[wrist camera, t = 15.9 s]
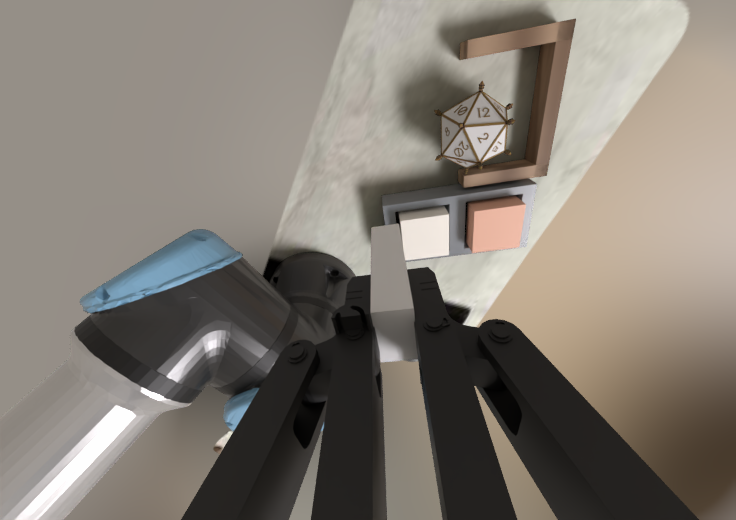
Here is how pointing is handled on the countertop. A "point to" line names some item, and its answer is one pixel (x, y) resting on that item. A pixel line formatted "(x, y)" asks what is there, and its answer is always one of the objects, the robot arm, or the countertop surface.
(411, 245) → the ivory key
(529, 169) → the walnut bracket
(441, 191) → the key panel
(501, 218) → the terracotta key
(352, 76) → the countertop surface
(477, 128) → the game die
